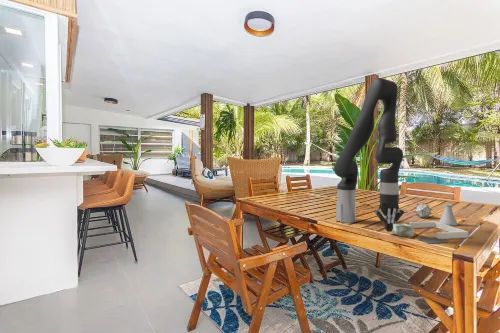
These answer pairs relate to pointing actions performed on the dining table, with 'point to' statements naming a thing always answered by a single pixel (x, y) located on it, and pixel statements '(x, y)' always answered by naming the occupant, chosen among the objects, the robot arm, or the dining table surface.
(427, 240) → the mats
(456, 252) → the dining table surface
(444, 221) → the flask
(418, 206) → the game die
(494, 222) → the dining table surface
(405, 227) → the sage block
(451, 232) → the grey u-shaped bracket
